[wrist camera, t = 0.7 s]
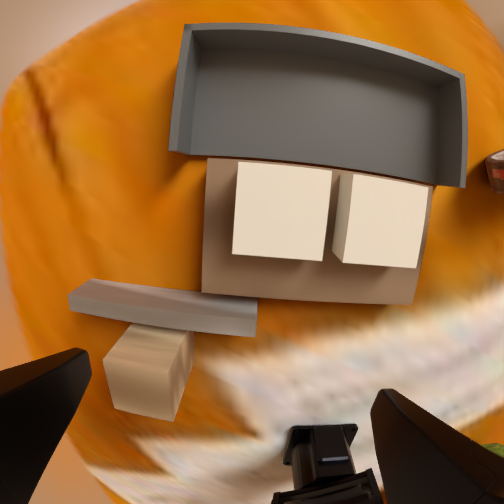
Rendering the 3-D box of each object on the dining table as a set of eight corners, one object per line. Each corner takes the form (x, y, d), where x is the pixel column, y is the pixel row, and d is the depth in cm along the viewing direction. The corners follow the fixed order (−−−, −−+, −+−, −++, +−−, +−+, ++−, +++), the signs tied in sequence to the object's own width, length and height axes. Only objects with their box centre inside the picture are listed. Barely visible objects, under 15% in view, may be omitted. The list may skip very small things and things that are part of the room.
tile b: (313, 249, 17) (321, 261, 15) (236, 242, 17) (232, 254, 15) (321, 171, 16) (332, 170, 14) (241, 164, 16) (238, 161, 14)
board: (398, 292, 20) (411, 304, 18) (208, 279, 20) (201, 292, 18) (415, 184, 18) (432, 186, 16) (214, 160, 18) (207, 158, 16)
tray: (437, 185, 18) (465, 188, 15) (184, 154, 18) (168, 150, 15) (439, 85, 16) (464, 74, 13) (196, 46, 16) (184, 24, 13)
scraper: (251, 366, 22) (247, 431, 15) (100, 343, 22) (60, 390, 15) (257, 296, 20) (255, 352, 14) (91, 278, 21) (38, 315, 14)
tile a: (398, 256, 17) (416, 268, 15) (331, 250, 17) (342, 262, 15) (407, 185, 16) (428, 187, 13) (340, 174, 16) (353, 173, 13)
